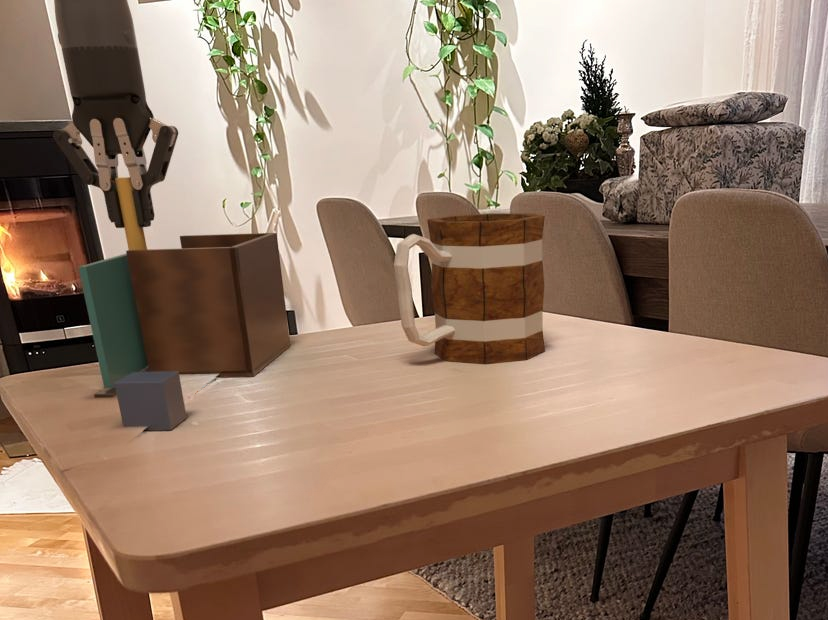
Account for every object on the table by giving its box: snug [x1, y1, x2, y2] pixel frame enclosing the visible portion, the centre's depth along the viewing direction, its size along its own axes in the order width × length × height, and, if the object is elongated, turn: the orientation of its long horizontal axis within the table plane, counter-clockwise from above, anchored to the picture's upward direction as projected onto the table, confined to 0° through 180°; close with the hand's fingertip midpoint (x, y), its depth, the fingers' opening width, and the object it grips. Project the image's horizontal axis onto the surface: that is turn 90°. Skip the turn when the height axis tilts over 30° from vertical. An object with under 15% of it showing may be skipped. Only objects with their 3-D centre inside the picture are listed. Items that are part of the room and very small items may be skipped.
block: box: [114, 371, 188, 432], centre depth 89 cm, size 4×4×4 cm
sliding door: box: [78, 176, 148, 389], centre depth 103 cm, size 2×17×20 cm, turn 177°
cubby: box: [93, 232, 291, 399], centre depth 108 cm, size 14×28×14 cm, turn 177°
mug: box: [393, 212, 546, 365], centre depth 110 cm, size 20×14×15 cm
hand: (133, 226), depth 106 cm, fingers closed on sliding door, 2 cm apart
